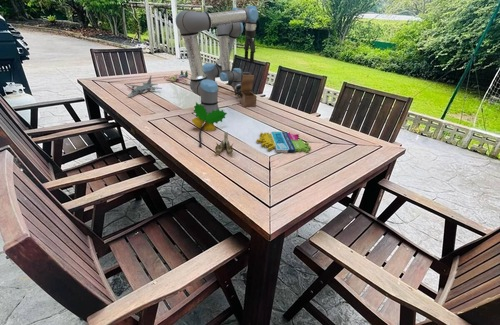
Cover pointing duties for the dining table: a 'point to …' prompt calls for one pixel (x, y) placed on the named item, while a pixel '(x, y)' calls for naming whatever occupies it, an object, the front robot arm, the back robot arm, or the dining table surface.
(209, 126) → the ornament
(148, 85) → the airplane
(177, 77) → the toy
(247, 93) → the chest
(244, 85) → the brown piece
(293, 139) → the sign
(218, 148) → the jawbone
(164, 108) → the dining table surface
